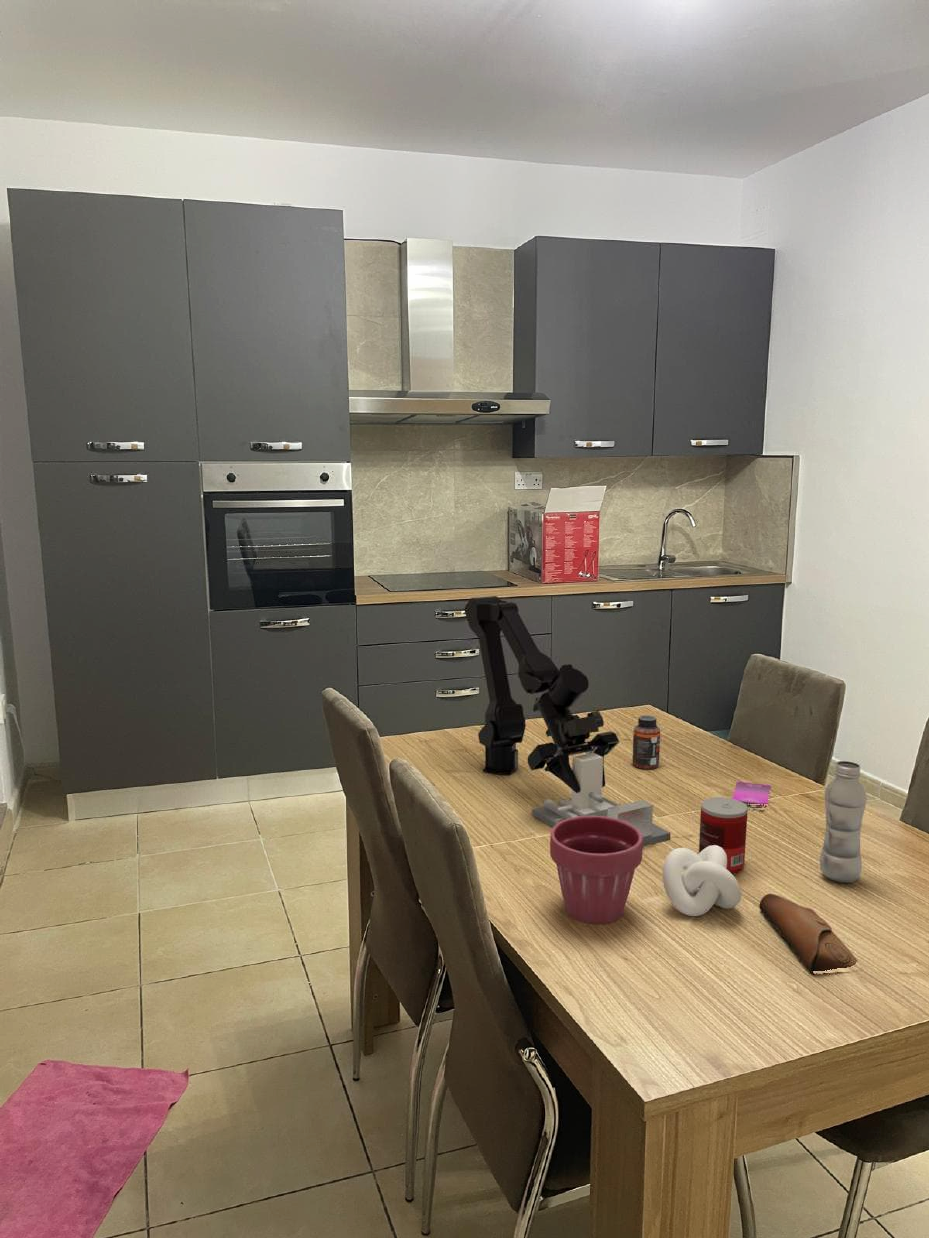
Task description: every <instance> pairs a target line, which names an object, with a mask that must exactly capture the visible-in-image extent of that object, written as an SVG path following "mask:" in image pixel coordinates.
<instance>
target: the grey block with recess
mask: <svg viewBox="0 0 929 1238" xmlns="http://www.w3.org/2000/svg"><path fill="white" fill-rule="evenodd" d="M617 805H618V806H614V807H610V808H608V811H607V817H610V818H614V819H618V820H621V821H624V822H627V823H629V824H631V825H633V826H634V827H635V828H637V829H638V830H639V831H640V832H641V834H642V838H647V837H651V836H652V823H653V818H654V817H653V815H654V813H653V812H654V805H653V804H652V803H650V802H648V801H646V800H644V799H639V800H635V801H632V802H627V803H623V804H617Z"/></svg>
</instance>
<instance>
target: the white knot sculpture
mask: <svg viewBox="0 0 929 1238" xmlns="http://www.w3.org/2000/svg"><path fill="white" fill-rule="evenodd" d="M662 865H663V866H662V883H663V888H664V891H665V894H666V896H667V898H668V900H669V902H670V903H671V905H672V906H673V907H674V908H675V909H676V910H678V912H680V913H681V914H684V915H686V916H688V917H698V916H699V917H700V916H702V915H705V914H706V913H707V912H709V910H711V908H712V907H713V906H714V905H715V906H718V907H719V906H720V907H719V908H722V909H726V910H727V909H733V908H735V907H737V906H738V905H739V904H740V902H741V899H742V891H741V886H740V884H739V882H738V881H737V879H736V877H735V876H734V874H731V873H730V872H729V871H728V870H727V869H726V868H727V855H726V853H725V851H724V850H723V849H722V848H721V847H719V846H717V845H713V846H708V847H706V848H705V849H703V850H702V851H701V852H700V853H699V852H698V853H696V852H695V851H693V850H691V849H690V848H688V847H677V848H675V849H673V850H671V851H670V852H669V853H668V855H667V856H666V858H665V859H664V862H663V864H662ZM683 869H684V871H683Z"/></svg>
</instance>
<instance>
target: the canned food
mask: <svg viewBox="0 0 929 1238" xmlns="http://www.w3.org/2000/svg"><path fill="white" fill-rule="evenodd" d="M748 812H749V810H747V806H746V805H745V804H744V803H743V802H740V801H738V800H735V799H732V797H731V798H730V797H724V796H723V797H720V796H718V797H715V796H714V797H710V798H706V799H704V800H703V801H702V802H701V806H700V817H699V818H700V819H699V837H698V838H699V839H698V844H699V845H698V854H699V853H700V852H701V851H702V850H703V849H705V848H706V847H708V846H713V845H717V846H719V847H721V848H722V849H723V850H724V851H725V853H726V855H727V868H726V869H727V870H728V871H729V872H730V873H731V874H732V875H735V874H734V873H736V874H738V873H740V872H741V871H742V870H743V869H744V866H745V862H746V861H745V859H746V856H745V855H746V844H747V828H748V827H747V825H748ZM742 868H743V869H742ZM739 871H740V872H739Z"/></svg>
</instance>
